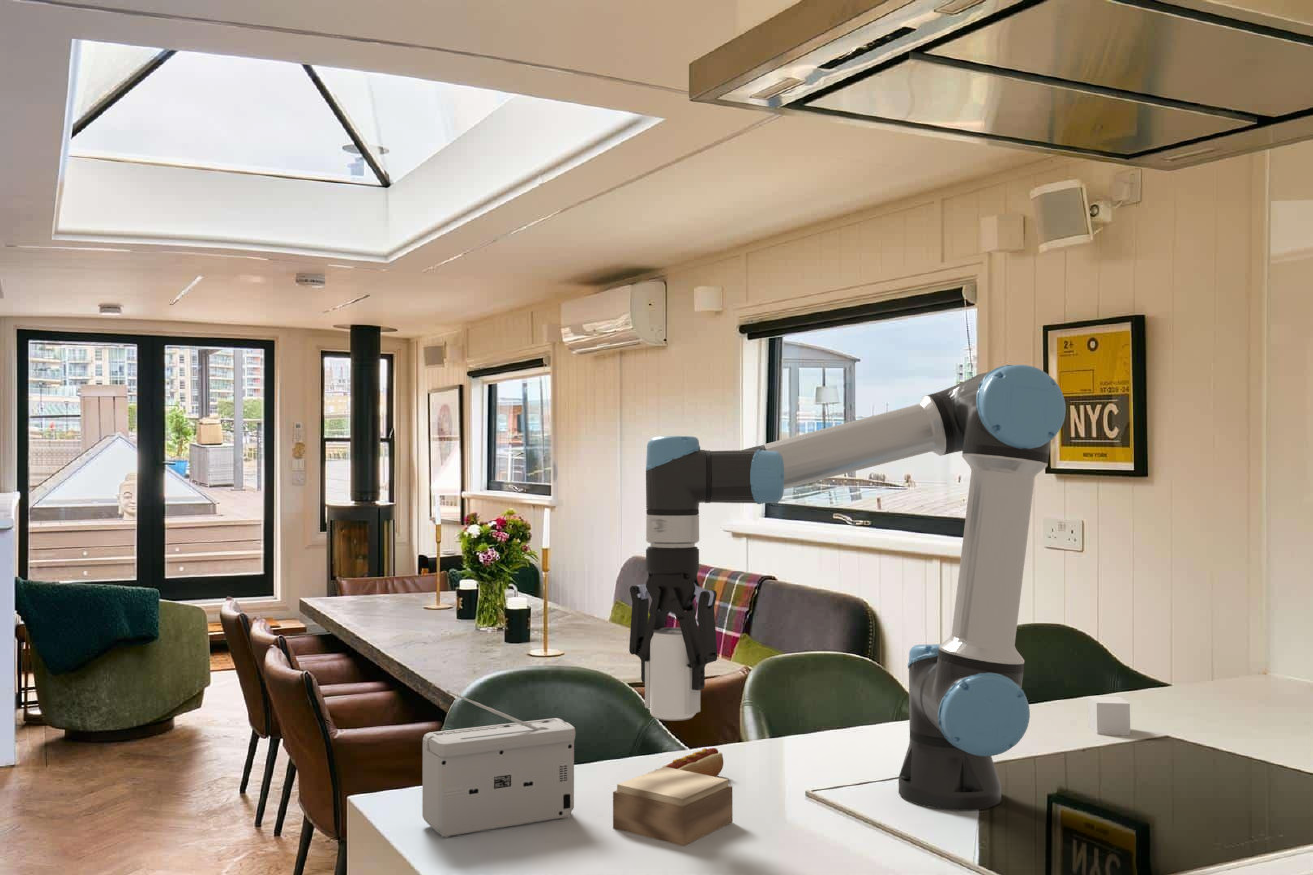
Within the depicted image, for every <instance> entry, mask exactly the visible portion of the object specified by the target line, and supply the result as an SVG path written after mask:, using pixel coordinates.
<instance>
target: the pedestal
mask: <svg viewBox="0 0 1313 875" xmlns="http://www.w3.org/2000/svg"><path fill="white" fill-rule="evenodd" d="M662 767H663V766H662ZM662 767H660V768H657V769H655V770H652V771H649V772H646V773H644V774H641V775H638V776H636V777H633V778H631V779H628V780H626V781H623V782H620V783H617V784H616V790H615V791H612V828H613V829H614V830H618V831H623V832H626V833H630V834H635V835H638V836H642V837H646V838H650V839H654V840H658V841H661V842H666V843H669V844H674V845H678V846H681V847H684V846H688V844H690V843H693V842H695V841H697V840H699V839H702V838H704V837H705V836H707V835H710V834H711V833H714V832H715V830H716V831H718V830H720V829H722V828H724V827H726V826H727V825H730V824H733V823H734V822H733V820H734V819H733V817H734V816H733V786H732V785H729V778H723V777H718V776H717V777H713V776H708V775H703V774H698V773H693V772H689V771H684V770H679V769H674V768H669V767H663V768H662ZM723 826H724V827H723ZM721 827H722V828H721Z"/></svg>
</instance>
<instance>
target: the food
mask: <svg viewBox="0 0 1313 875" xmlns="http://www.w3.org/2000/svg"><path fill="white" fill-rule="evenodd" d="M663 767H669V768H674V769H679V770H684V771H689V772H693V773H698V774H703V775H708V776H713V777H718V776H719V775H720V773H721V772H722V771H723V767H724V756H723V753H722V752H719V750H718V749H717V748H715V747H711V748H708V749H707V748H705V747H704V748H701V750H699V751H695V752H693V753H692V754H688V755H684V756H682V757H681V758H680V757H679V758H676V759H674V760H672V762H671V763H669V764H666V765H663V766H662V767H661V768H663Z"/></svg>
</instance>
